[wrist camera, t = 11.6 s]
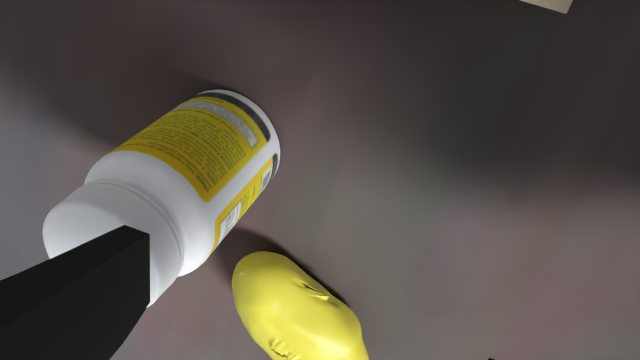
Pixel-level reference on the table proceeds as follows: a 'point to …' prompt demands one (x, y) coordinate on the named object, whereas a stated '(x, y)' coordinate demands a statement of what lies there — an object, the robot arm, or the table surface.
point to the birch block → (552, 4)
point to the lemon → (293, 312)
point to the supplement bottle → (174, 184)
